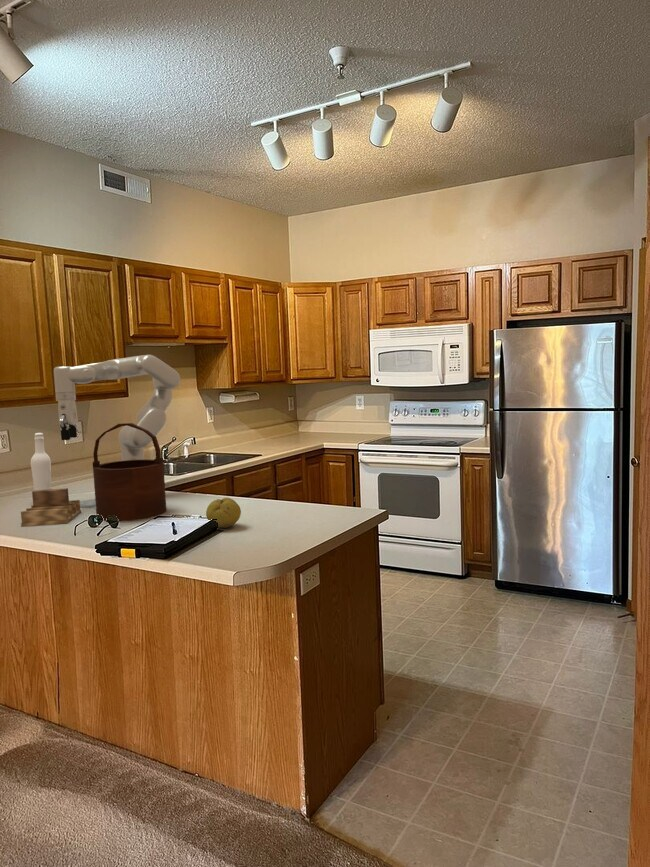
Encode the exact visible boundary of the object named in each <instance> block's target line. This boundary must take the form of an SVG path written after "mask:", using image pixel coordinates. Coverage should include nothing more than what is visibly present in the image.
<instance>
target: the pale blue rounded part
mask: <svg viewBox="0 0 650 867" xmlns="http://www.w3.org/2000/svg"><path fill="white" fill-rule="evenodd" d="M88 508H89V509H90V508H96V501H95V498H94V499H93V498H92V499H86V500H81V501H80V509H88Z"/></svg>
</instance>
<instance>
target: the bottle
mask: <svg viewBox="0 0 650 867" xmlns="http://www.w3.org/2000/svg"><path fill="white" fill-rule="evenodd" d="M33 439H34V451H35V452H34V454H33V455H32V457H31V458H30V470H31V475H32V484H33V491H34V490H46V489H52V460H51V457H50V456H49V454H48V453H47V452H46V450H45V441H44V439H45V437H44V433H43V432H36V433H34V438H33Z"/></svg>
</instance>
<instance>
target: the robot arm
mask: <svg viewBox="0 0 650 867" xmlns="http://www.w3.org/2000/svg"><path fill="white" fill-rule="evenodd" d="M144 375H149V376H150V377H152V384H153V385H152V386H153V393H152V395H151V396H150V398H149V399H148V401H146V402H145V403H144V405H143V406H142V407H141V408H140V410H138V412H137V414H136V418H135V419H136V423H137V424H136V425H137V426H140V427H142V428H144V429H146V430H148V431H149V432H151V433H152V434H153V435H154V436H156V437H157V435H158V433H159V432H161V430H162V429H163V427H164V426H165V424H166V421H167V414H166V410H167V409H168V407H169V406H170V405H171V402H172V398H173V389H175V388H177V387H179V385H180V383H181V376H180V374H179V372H178V371H177V370H175V369H174V368H173V367H171V365H169V364H167V363H165V362H164V361H162V359H160V358H158V357H157V356H155V355H153V354H143V355H134V356H128V357H123V358H122V357H121V358H113V359H109V360H106V361H101V362H95V363H94V362H93V363H89V364H88V363H87V364H82V365H81V364H80V365H76V366H70V365H69V366H68V365H67V366H65V365H64V366H63V365H61V366H55V367H54V368H53V378H54V379H53V380H54V381H53V382H54V390H55V391H54V392H55V401H56V402H58V403H57V404H58V405H57V406H58V407H57V408H58V412H57V413H58V423H59V426H60V427H59V429H60V438H61V441H69V440H71V439H73V438H74V439H75V438H77V437H78V433H77V424H78V422H79V418H78V411H77V404H76V403H77V402H76V400H77V396H76V394H77V393H76V384H78V385H81V384H83V385H84V384H85V385H86V384H90V383H92V382H96V381H97V382H98V381H106V380H111V381H112V380H121V379H127V378H132V377H139V376H144ZM118 442H119V446H120V447H119V448H120V453H121V461H125V460H142V459H146V458H145V450H144V448H145V447H147V446H148V445H150V443H151V442H153V441H152V438H151V437H150V436H149V435H147V434H146V433H145V432H144V431H142V430H139V429H136V428H133V427H130V426H122V427H121V429H120V430H119V432H118Z"/></svg>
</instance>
